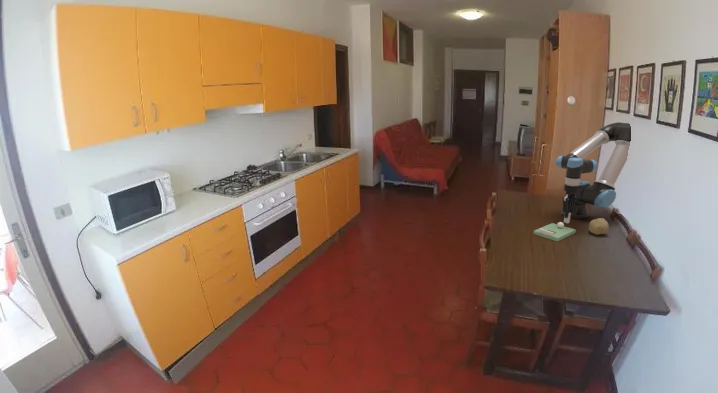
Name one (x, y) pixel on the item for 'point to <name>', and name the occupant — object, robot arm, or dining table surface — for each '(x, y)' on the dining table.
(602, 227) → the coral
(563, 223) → the ball
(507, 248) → the dining table surface
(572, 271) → the dining table surface
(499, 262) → the dining table surface
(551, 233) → the mat
